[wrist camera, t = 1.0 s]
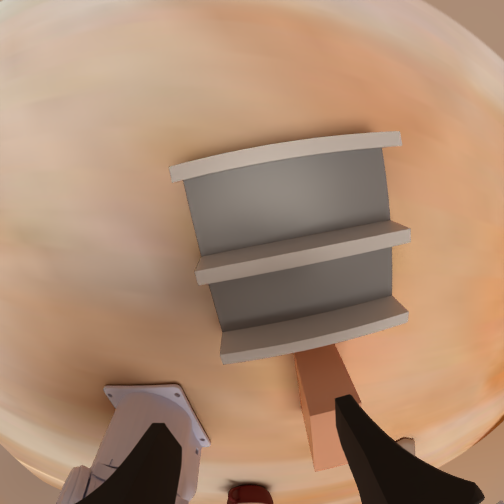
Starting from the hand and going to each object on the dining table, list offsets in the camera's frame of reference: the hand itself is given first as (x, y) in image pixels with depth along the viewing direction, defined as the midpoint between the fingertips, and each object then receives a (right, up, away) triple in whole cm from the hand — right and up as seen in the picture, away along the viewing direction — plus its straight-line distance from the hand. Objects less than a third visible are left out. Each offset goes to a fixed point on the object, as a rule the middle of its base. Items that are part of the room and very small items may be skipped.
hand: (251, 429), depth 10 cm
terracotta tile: (+5, -3, +11) cm, 13 cm away
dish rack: (+3, +8, +8) cm, 11 cm away
